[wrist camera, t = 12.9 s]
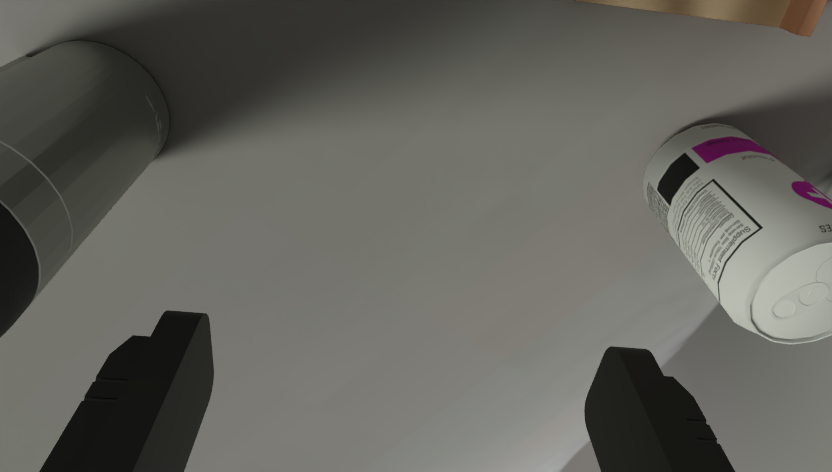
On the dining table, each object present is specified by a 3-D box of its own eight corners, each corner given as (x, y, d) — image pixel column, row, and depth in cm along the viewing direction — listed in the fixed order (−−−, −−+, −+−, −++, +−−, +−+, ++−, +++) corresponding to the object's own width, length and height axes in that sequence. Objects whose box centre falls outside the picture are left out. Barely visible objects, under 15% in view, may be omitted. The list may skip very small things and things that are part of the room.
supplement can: (723, 96, 40) (871, 201, 28) (767, 177, 44) (916, 303, 31) (619, 164, 43) (711, 288, 30) (669, 235, 46) (770, 373, 34)
